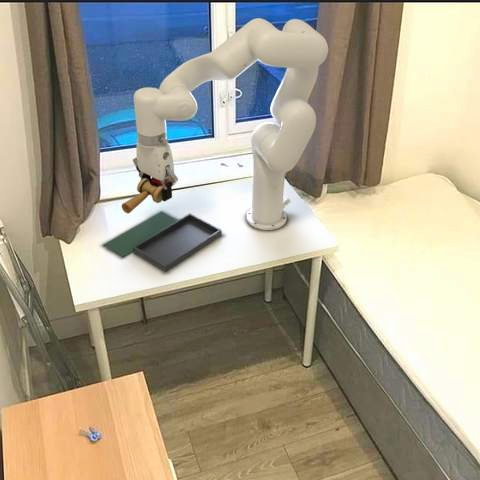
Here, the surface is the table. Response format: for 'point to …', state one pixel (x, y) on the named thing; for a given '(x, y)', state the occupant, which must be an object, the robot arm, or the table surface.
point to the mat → (139, 234)
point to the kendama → (145, 193)
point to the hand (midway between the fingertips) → (157, 193)
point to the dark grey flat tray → (177, 242)
